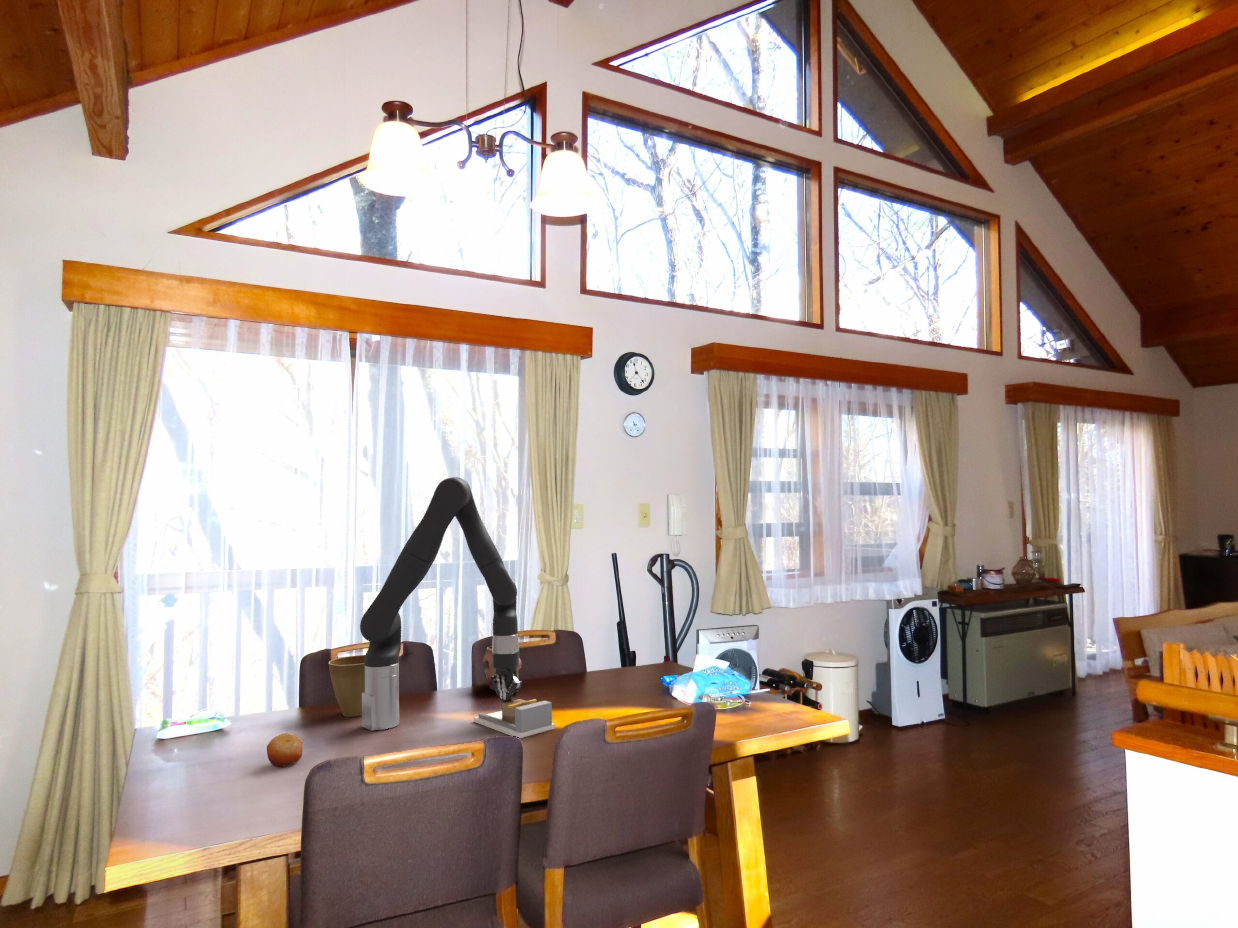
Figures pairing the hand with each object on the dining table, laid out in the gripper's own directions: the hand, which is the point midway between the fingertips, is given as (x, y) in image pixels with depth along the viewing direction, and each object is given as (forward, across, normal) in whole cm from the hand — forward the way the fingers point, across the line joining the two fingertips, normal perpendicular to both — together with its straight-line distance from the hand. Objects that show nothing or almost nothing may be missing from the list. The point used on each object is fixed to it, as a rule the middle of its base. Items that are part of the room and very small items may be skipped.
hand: (506, 711), depth 215 cm
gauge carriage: (+1, +5, 0) cm, 6 cm away
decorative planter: (+3, -35, +22) cm, 42 cm away
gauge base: (+3, +4, 0) cm, 5 cm away
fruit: (+3, -11, -57) cm, 58 cm away
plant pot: (+3, -42, -26) cm, 49 cm away
